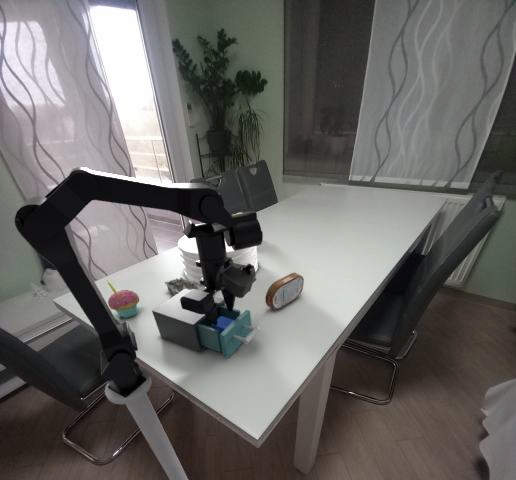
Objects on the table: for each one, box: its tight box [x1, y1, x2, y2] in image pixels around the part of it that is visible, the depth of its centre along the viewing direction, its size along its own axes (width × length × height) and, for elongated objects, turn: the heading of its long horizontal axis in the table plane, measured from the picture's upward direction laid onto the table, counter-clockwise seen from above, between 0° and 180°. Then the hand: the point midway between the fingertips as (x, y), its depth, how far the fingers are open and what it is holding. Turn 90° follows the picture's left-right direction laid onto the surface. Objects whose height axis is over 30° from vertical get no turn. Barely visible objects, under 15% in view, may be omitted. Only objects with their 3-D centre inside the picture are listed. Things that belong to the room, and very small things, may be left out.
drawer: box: [196, 305, 260, 359], centre depth 68 cm, size 17×11×7 cm
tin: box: [264, 272, 305, 310], centre depth 81 cm, size 15×3×8 cm, turn 134°
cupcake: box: [106, 279, 140, 318], centre depth 80 cm, size 9×8×12 cm
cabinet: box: [151, 289, 226, 353], centre depth 72 cm, size 14×13×9 cm
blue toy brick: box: [212, 316, 235, 335], centre depth 68 cm, size 4×4×4 cm
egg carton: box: [164, 277, 199, 296], centre depth 91 cm, size 11×8×4 cm
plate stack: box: [177, 234, 259, 286], centre depth 102 cm, size 28×28×12 cm
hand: (223, 317), depth 66 cm, fingers open, 6 cm apart
